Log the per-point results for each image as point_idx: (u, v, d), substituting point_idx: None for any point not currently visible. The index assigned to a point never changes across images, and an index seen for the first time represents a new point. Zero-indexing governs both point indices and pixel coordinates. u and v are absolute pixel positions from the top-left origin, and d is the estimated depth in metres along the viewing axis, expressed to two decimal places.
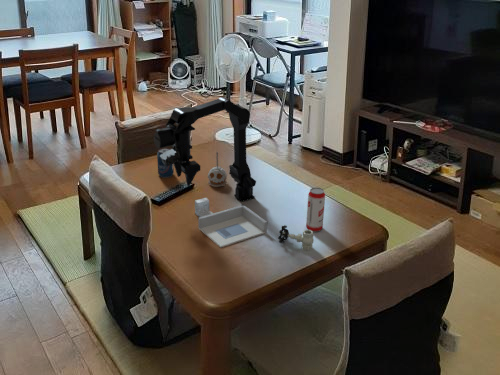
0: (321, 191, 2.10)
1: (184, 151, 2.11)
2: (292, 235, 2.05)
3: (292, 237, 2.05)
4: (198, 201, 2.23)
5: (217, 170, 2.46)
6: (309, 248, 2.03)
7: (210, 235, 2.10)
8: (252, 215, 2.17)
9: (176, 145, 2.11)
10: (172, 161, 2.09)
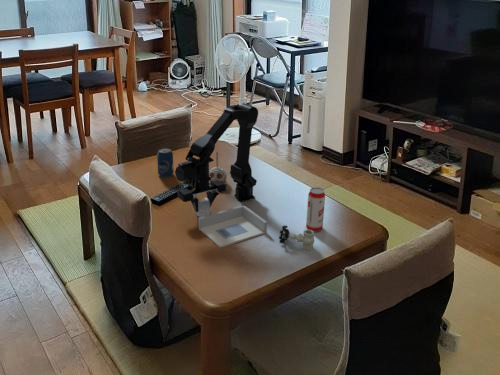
0: (321, 191, 2.10)
1: (194, 181, 2.19)
2: (293, 235, 2.05)
3: (293, 237, 2.05)
4: (199, 201, 2.23)
5: (217, 170, 2.46)
6: (310, 248, 2.03)
7: (210, 235, 2.10)
8: (252, 215, 2.17)
9: None
10: (184, 182, 2.23)
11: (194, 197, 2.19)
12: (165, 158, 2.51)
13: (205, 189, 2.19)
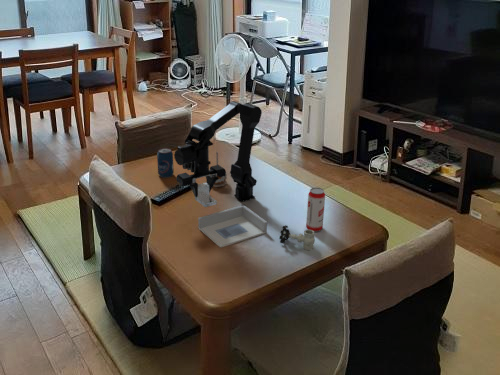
0: (321, 191, 2.10)
1: (194, 165, 2.16)
2: (293, 235, 2.05)
3: (293, 237, 2.05)
4: (198, 186, 2.20)
5: None
6: (310, 248, 2.03)
7: (210, 235, 2.10)
8: (252, 215, 2.17)
9: None
10: (184, 166, 2.20)
11: (193, 181, 2.16)
12: (165, 158, 2.51)
13: (205, 173, 2.16)
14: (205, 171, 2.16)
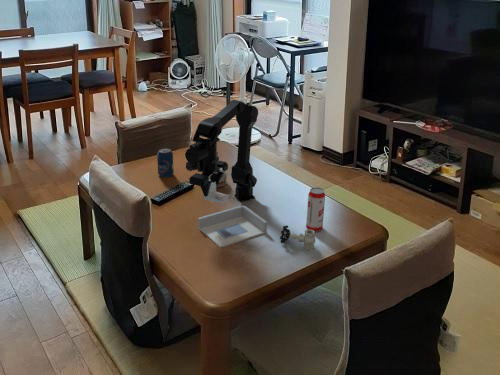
0: (321, 191, 2.10)
1: (203, 163, 2.09)
2: (294, 235, 2.05)
3: (294, 237, 2.05)
4: None
5: None
6: (311, 248, 2.03)
7: (210, 235, 2.10)
8: (252, 215, 2.17)
9: None
10: (189, 167, 2.11)
11: None
12: (165, 158, 2.51)
13: (215, 170, 2.11)
14: (215, 167, 2.11)
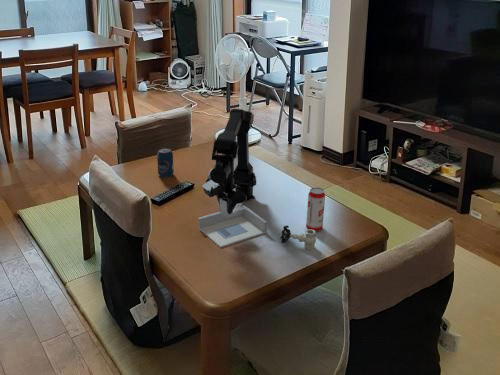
0: (321, 191, 2.10)
1: (228, 181, 2.00)
2: (294, 235, 2.05)
3: (294, 237, 2.05)
4: None
5: None
6: (311, 248, 2.03)
7: (210, 235, 2.10)
8: (252, 215, 2.17)
9: None
10: (217, 192, 1.97)
11: None
12: (165, 158, 2.51)
13: None
14: None
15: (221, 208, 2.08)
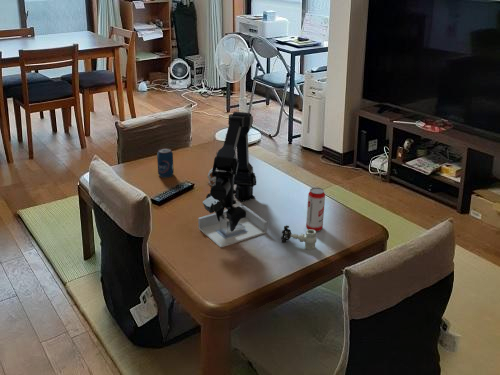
0: (321, 191, 2.10)
1: (228, 197, 2.03)
2: (295, 235, 2.05)
3: (295, 237, 2.05)
4: (228, 219, 2.08)
5: (217, 170, 2.46)
6: (312, 247, 2.03)
7: (210, 235, 2.10)
8: (252, 215, 2.17)
9: None
10: (217, 208, 2.00)
11: None
12: (165, 158, 2.51)
13: None
14: None
15: (221, 226, 2.11)
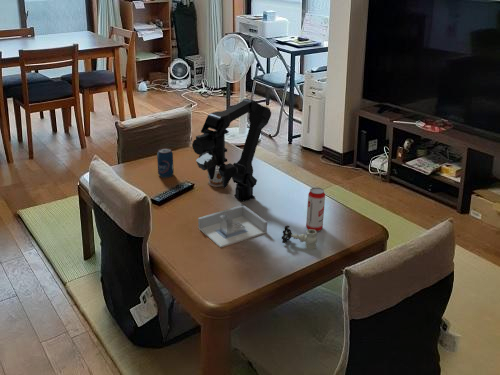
0: (321, 191, 2.10)
1: (220, 155, 2.16)
2: (295, 235, 2.05)
3: (295, 237, 2.05)
4: (228, 219, 2.08)
5: (217, 170, 2.46)
6: (313, 247, 2.03)
7: (210, 235, 2.10)
8: (252, 215, 2.17)
9: (212, 149, 2.15)
10: (210, 165, 2.13)
11: None
12: (165, 158, 2.51)
13: None
14: None
15: (221, 226, 2.11)
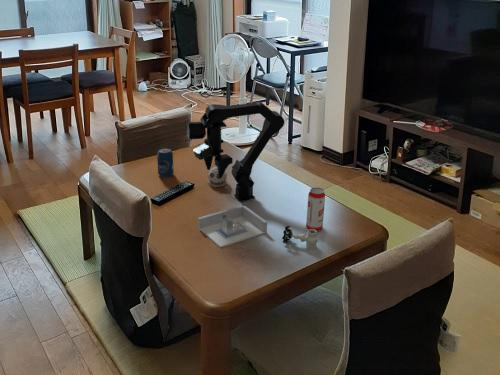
0: (321, 191, 2.10)
1: (216, 145, 2.24)
2: (296, 235, 2.05)
3: (296, 237, 2.05)
4: (228, 219, 2.08)
5: (217, 170, 2.46)
6: (313, 247, 2.03)
7: (210, 235, 2.10)
8: (252, 215, 2.17)
9: (209, 140, 2.23)
10: (206, 155, 2.21)
11: None
12: (165, 158, 2.51)
13: None
14: None
15: (221, 226, 2.11)
